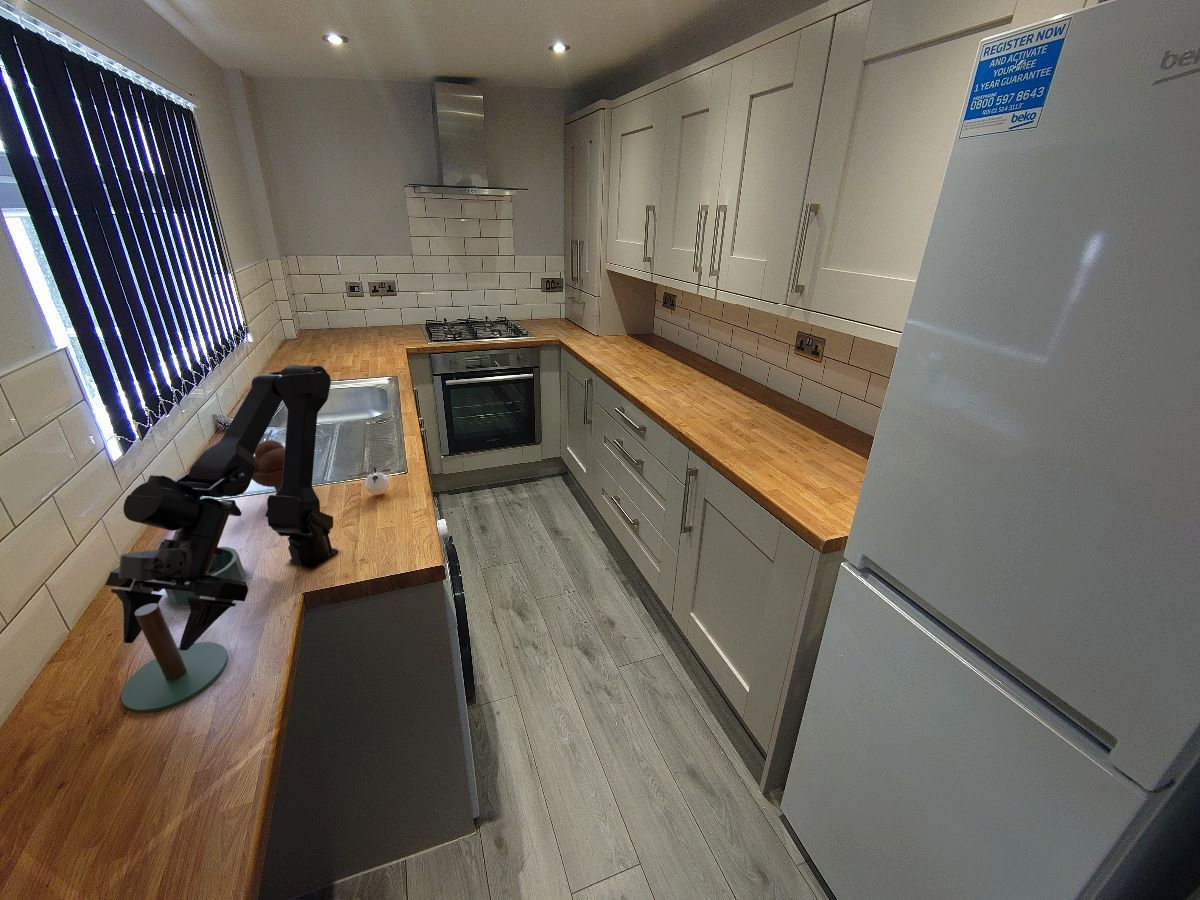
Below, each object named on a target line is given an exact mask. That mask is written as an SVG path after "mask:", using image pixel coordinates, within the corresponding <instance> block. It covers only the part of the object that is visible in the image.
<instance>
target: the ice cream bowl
mask: <svg viewBox="0 0 1200 900" xmlns="http://www.w3.org/2000/svg"><path fill="white" fill-rule="evenodd" d="M284 453H285V446H283V443H281V442H279V441H277V440H273V439H272V440H269V439H268V440H264V441H262V442H259V444H258V446H257V448H256V450H255V453H254V460H255V466H256V468H255V471H254V473H253V476H252V479H251V481H253V482H255V483H256V484H258V485H260V486H262V487H268V488H274V489H275V492H276V493H277V492H278V490H279V489H280V488H281V486H282V478H283V465H284Z"/></svg>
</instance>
